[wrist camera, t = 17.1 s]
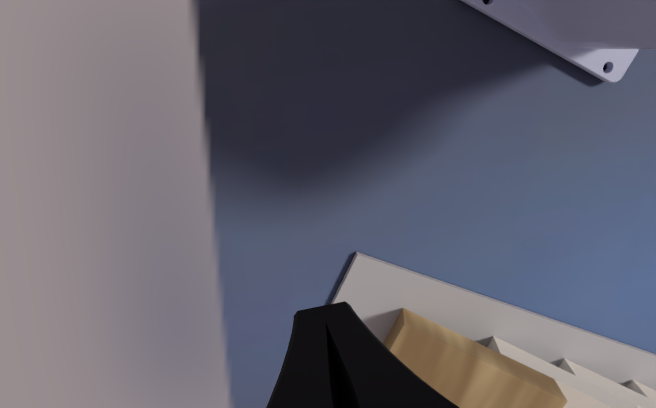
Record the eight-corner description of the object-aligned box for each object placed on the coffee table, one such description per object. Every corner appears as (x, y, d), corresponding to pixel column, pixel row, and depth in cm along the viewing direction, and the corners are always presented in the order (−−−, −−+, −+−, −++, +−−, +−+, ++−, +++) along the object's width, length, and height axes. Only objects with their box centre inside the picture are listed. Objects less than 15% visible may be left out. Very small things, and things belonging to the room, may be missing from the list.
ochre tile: (364, 395, 23) (517, 469, 22) (404, 324, 21) (567, 401, 21) (365, 374, 24) (508, 443, 24) (403, 307, 23) (553, 378, 23)
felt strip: (290, 384, 24) (291, 388, 24) (356, 251, 22) (357, 254, 21) (672, 474, 33) (676, 478, 32) (749, 386, 30) (754, 389, 30)
